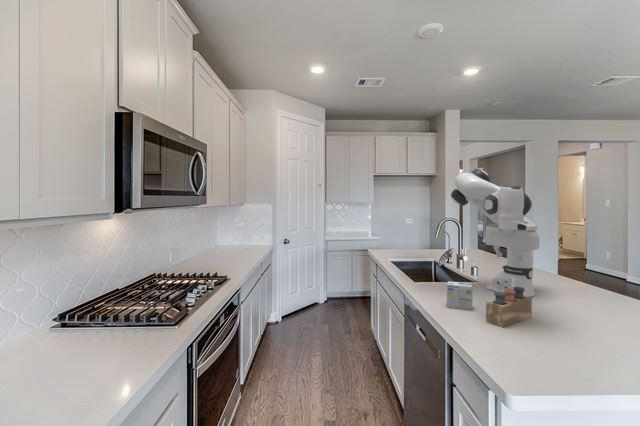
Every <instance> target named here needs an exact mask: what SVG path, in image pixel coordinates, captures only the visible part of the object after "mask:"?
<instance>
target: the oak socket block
mask: <svg viewBox="0 0 640 426" xmlns="http://www.w3.org/2000/svg"><path fill="white" fill-rule="evenodd" d="M485 304H486V306H485V308H486V309H485V322H486V323H490V324H492V325H495V326H497V327H502V328H506V327H508V326H511V325H514V324H516V323H519V322H522V321H524V320H525V321H526V320H527V319H530V318H532V313H533V312H532V309H533V308H532V307H533V305H532V304H533V298H532V297H525V296H523V299H522V300H521V299H517V298H514V302H509V301H505V305H499V304H495V299H492V300H489V301H486V302H485Z"/></svg>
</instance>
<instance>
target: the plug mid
mask: <svg viewBox="0 0 640 426" xmlns="http://www.w3.org/2000/svg"><path fill="white" fill-rule="evenodd" d="M504 293H506V297H505V301H509V302H514V294H515V290H511V289H504Z"/></svg>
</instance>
